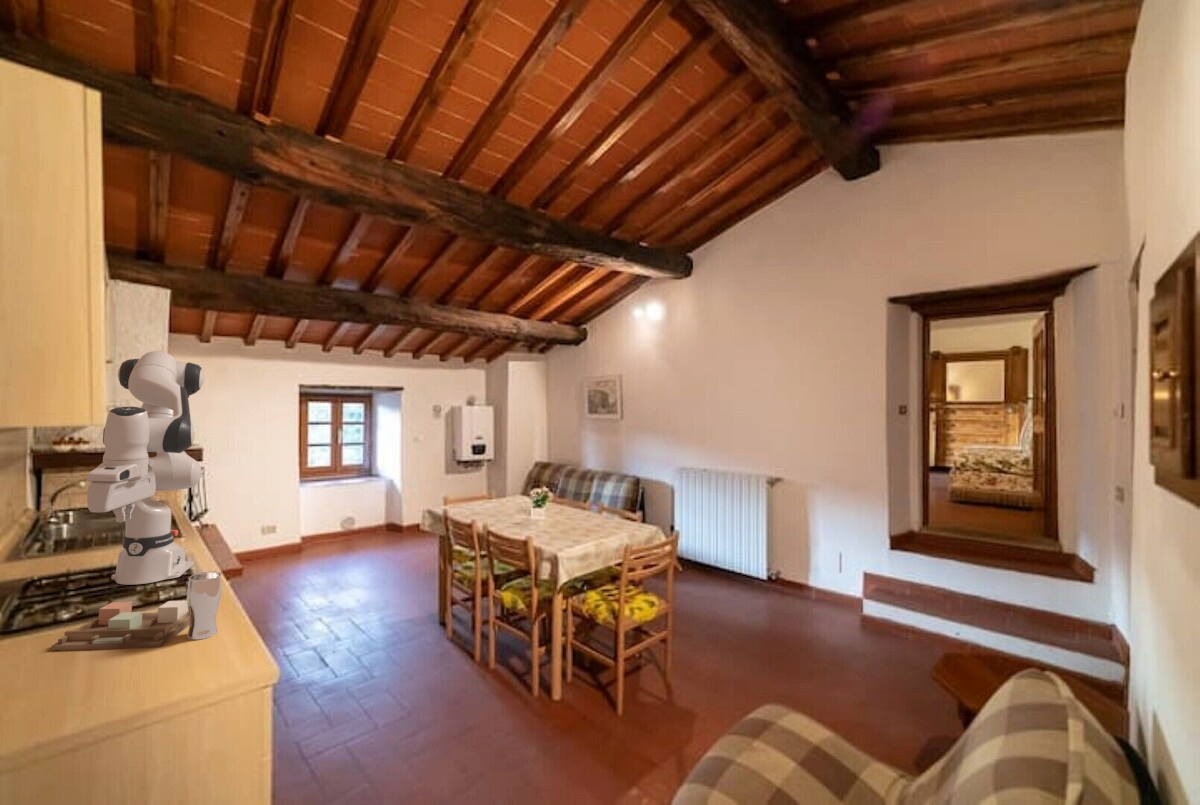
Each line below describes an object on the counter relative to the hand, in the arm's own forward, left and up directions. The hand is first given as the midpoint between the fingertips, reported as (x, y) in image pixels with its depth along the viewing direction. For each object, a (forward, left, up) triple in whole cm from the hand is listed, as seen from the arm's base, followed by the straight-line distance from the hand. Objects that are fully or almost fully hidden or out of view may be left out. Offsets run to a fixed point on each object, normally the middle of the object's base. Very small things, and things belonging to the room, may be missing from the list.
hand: (123, 520), depth 136 cm
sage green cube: (+10, +8, -25) cm, 28 cm away
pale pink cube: (+3, +14, -25) cm, 29 cm away
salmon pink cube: (+3, +1, -25) cm, 25 cm away
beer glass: (+10, +25, -27) cm, 38 cm away
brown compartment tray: (+7, +8, -27) cm, 28 cm away
